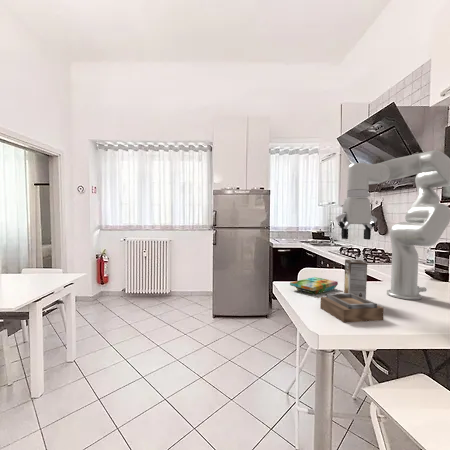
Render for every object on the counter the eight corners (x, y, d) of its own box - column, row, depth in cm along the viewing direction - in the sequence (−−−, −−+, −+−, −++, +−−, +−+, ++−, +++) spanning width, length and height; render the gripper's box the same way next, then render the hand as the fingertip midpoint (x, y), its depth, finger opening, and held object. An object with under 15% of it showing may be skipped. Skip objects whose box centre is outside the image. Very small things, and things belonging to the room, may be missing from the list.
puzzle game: (337, 279, 128) (312, 285, 115) (337, 290, 128) (312, 296, 116) (315, 275, 137) (290, 280, 125) (315, 284, 137) (289, 290, 125)
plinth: (355, 306, 102) (355, 292, 102) (383, 320, 89) (383, 304, 88) (320, 308, 100) (320, 293, 100) (343, 322, 86) (344, 305, 86)
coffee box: (343, 297, 114) (344, 259, 114) (360, 299, 113) (361, 259, 112) (348, 304, 105) (349, 262, 105) (366, 305, 104) (368, 263, 103)
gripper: (370, 197, 113) (368, 238, 114) (331, 195, 110) (330, 238, 111) (384, 195, 106) (382, 240, 106) (343, 193, 103) (341, 239, 103)
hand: (355, 239), depth 108 cm, fingers open, 9 cm apart
